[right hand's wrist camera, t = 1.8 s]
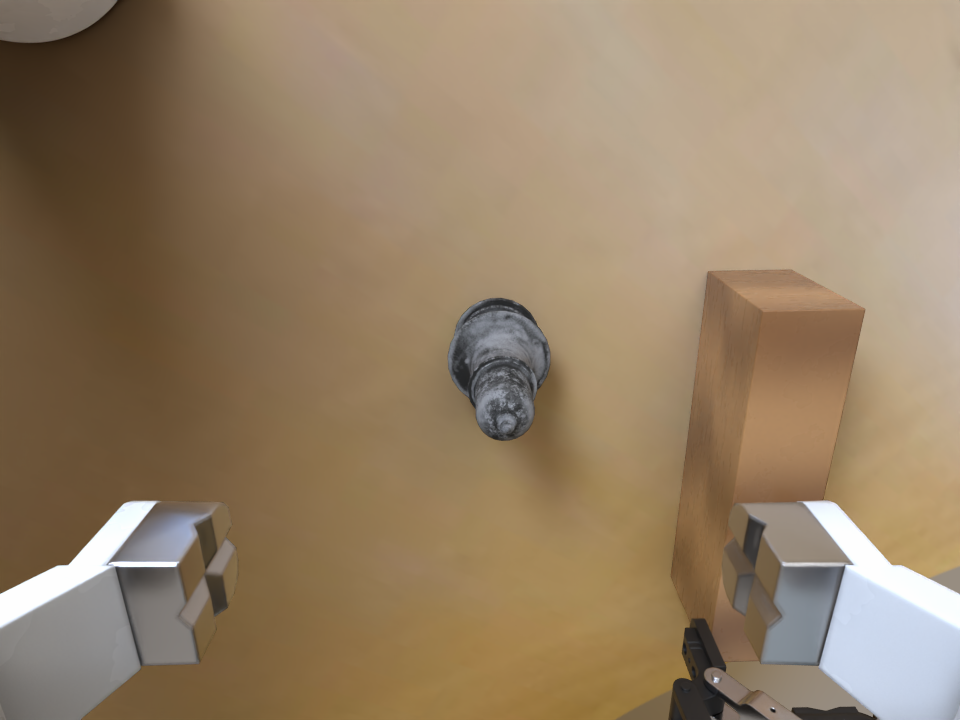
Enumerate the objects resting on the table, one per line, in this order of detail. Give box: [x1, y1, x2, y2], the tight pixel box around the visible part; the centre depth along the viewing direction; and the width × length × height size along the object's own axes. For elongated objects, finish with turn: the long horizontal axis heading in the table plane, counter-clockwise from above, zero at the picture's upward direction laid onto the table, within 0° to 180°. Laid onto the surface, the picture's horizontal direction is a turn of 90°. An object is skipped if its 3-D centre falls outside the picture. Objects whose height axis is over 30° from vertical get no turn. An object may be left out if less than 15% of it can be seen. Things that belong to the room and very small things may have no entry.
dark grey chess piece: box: [448, 298, 550, 441], centre depth 34 cm, size 6×6×12 cm
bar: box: [671, 270, 865, 662], centre depth 39 cm, size 23×5×8 cm, turn 1°
